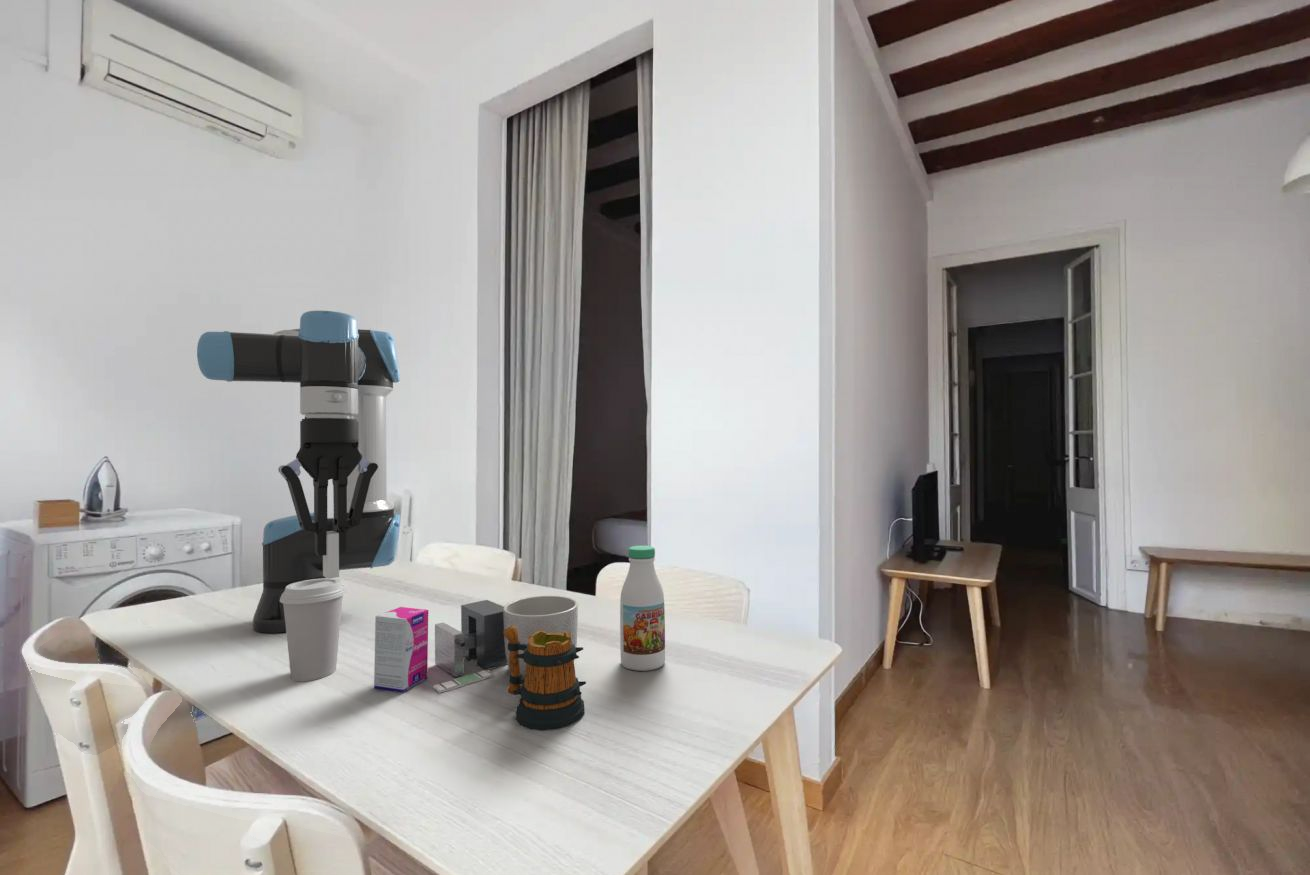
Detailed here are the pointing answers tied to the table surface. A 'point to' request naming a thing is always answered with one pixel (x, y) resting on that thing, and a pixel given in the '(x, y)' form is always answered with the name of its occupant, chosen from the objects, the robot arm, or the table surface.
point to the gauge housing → (484, 633)
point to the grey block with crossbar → (452, 648)
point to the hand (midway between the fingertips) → (330, 576)
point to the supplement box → (401, 649)
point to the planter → (540, 619)
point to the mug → (545, 680)
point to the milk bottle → (642, 613)
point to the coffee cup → (313, 626)
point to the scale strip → (463, 681)
